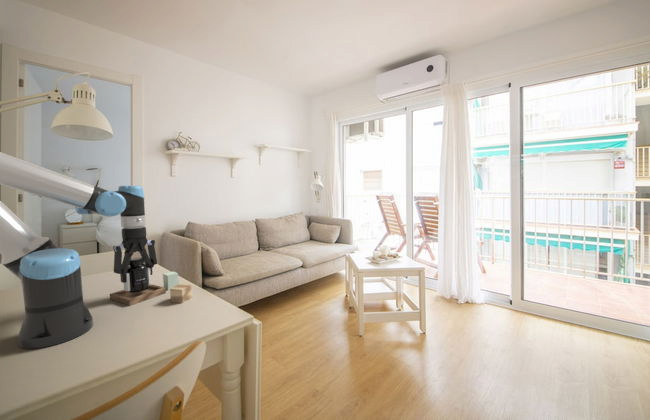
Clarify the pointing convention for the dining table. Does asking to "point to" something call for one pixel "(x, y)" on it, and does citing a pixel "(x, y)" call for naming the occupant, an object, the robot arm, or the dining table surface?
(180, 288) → the oak block
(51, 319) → the robot arm
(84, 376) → the dining table surface
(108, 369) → the dining table surface
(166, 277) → the sage cube
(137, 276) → the supplement bottle
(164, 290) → the walnut tray
